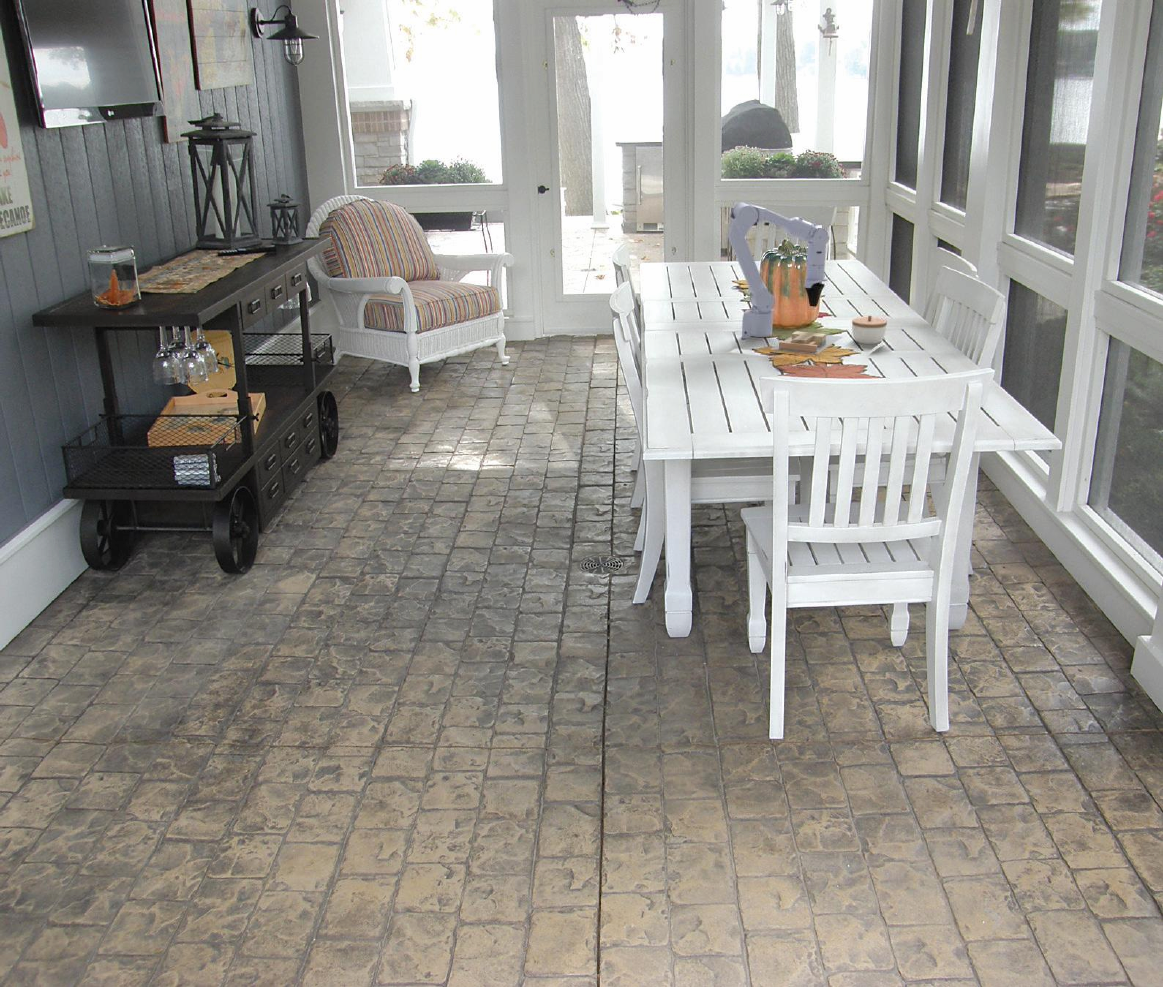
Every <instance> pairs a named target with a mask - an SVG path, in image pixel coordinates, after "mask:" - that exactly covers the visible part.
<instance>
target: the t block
mask: <svg viewBox="0 0 1163 987" xmlns="http://www.w3.org/2000/svg"><path fill="white" fill-rule="evenodd" d="M826 335H827V334H826V333H818V332H811V331H810V332H807V331H798V330H797V331H794V332H792V333H791V336H792V339H793V343H801V344H809V343H811V342H816V345H817V346H823V345H824V344H826Z"/></svg>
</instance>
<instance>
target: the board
mask: <svg viewBox="0 0 1163 987" xmlns="http://www.w3.org/2000/svg"><path fill="white" fill-rule="evenodd" d="M842 338H843V336H837V335H829V334H826V344H824V345H823V346H817V345H816V342H811V343H809V344H801V343H793V339H792V335H791V336H790V337H788V338H786V339H785V340H783V341H781V340H780V341H779V342H778V344H776V345H775V346H773V347H771V348H770V350H771V351H770V352H769V354H777V355H782V354H785V352H789V353H788V354H789V355H788V356H791V355H794V354H792V353H796V354H797V353H799V354H809V355H819V353H821V352H823V351H824V350H825V349H827V348H828V347H830V346H831V345H833V344H835V342H837V341H838V340H840V339H842ZM772 350H773V351H774V352H773V351H772ZM775 351H781V352H775ZM783 352H784V353H783ZM790 352H791V353H790Z"/></svg>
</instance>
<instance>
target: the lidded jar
mask: <svg viewBox="0 0 1163 987" xmlns="http://www.w3.org/2000/svg"><path fill="white" fill-rule="evenodd" d="M851 324H852V326H851V328H852V329H851V331H852V332H851V333H852V337H853V339H854V341H855V342H857V343H858V344H865V345H866V344H867V345H872V344H873V345H875V344H877V345H875V347H878V344H879V343H881V342H882V341H883V340H884V338H885V335H886V331H887V325H888V321H887V320H886V319H884V318H879V317H872V314H871V315H867V317H866V316H863V317H857V318H853V319H852V321H851Z"/></svg>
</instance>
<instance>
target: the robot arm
mask: <svg viewBox="0 0 1163 987" xmlns="http://www.w3.org/2000/svg"><path fill="white" fill-rule="evenodd" d="M761 222H766V223H771V224H774V225H776V226H778V227H781V228H784V229H785V230H786V232H787V234H788V235H789V236H792V237H795V238H796V239H800V240H802V241H805V242H807V253H806V254H807V255H806V256H807V257H806V270H805V272H806V273H805V274H806V276H805V279H804V280H805V281H804V287H803V288H804V290H805V293H806V294H807V297H808V305H809V307H812V308H813V307H814V308H817V307H818V304H819V300H820V297H821V294H822V291H823V290H824V288H825V283H822V282H827V281H828V278H826V274H825V266H826V265H825V264H826V245H827V244H828V242H829V240H830V236H829V232H828V230H826V229H825V228H823V227H821V226H819V225H817V223H814V222H812V223H811V222H809V221H806V220H804V217H801V216H797V217H796V216H794V217H791V218H788V217H785V216H783V215H781V214H778V213H777V212H774V211H772V210H770V209H767V208H765V207H762V206H758V205H754V204H748V203H747V202H742V201H741V202H738V203H736V204H735V205H734V206H733V208H732V210H731V211H730V214H729V223H728V224H729V226H728V231H727V238H728V240H729V242H730V245H731V248H732V250H733V253H734V254H735V257H736V259H737V262H738V265H739V267H740V269H741V272H742V274H743V276H744V279H745V282H746V284H747V286H748V289H747V290H748V292H749V301H750V304H751V305H752V306H751V308H750V309H746V310H745V311H744V313H743V314H742V324H741V325H742V327H741V337H740V339H746V340H747V339H748V338H750V337H757V338H767V337H771V336H772V335H773V321H774V308H775V305H776V299H775V297H774V295H773V294H772V293H771V292H770V291H769V290H768V287H767V286H766V284H765V283H764V281H763V278H762V276H761V273H760V271H759V269H758V266H757V263H756V261H755V259H754V256H753V254H752V251H751V249H750V247H749V244H748V242H747V240H746V236H747V234H748V232H749V230H750V229H751V228H752V227H753V225H754V224H756V223H761Z"/></svg>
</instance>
